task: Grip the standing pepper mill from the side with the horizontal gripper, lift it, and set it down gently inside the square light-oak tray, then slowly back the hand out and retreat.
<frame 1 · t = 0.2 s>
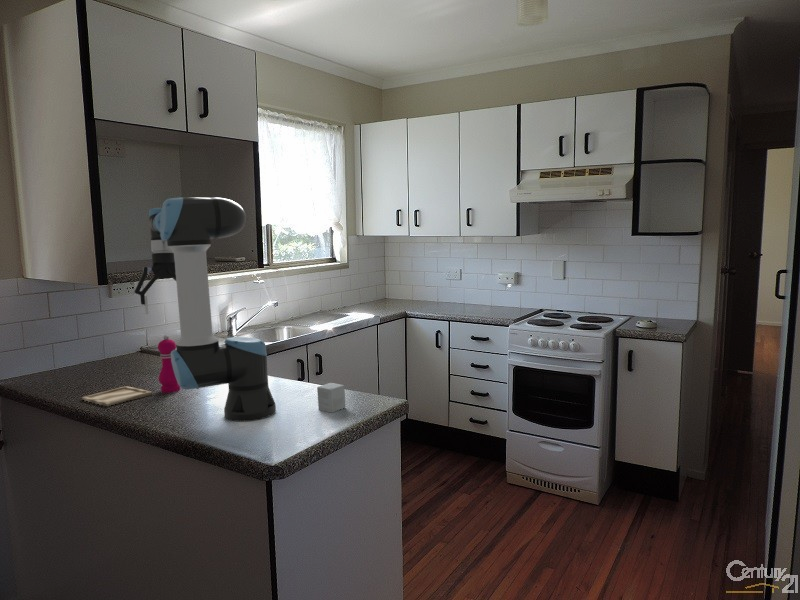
hand: (167, 312, 211), 27 cm above the counter, tool pointing down, fingers open, 13 cm apart
pepper mill: (170, 391, 211), on the counter
oak tray: (117, 397, 204), on the counter
product box: (332, 409, 182), on the counter
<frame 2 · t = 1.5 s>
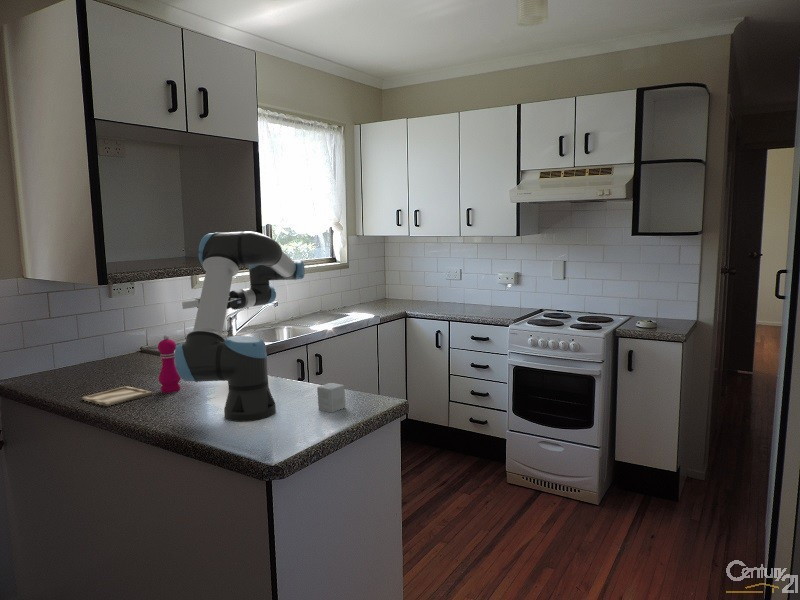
hand: (193, 306, 218), 28 cm above the counter, tool horizontal, fingers open, 13 cm apart
nothing on the counter moved.
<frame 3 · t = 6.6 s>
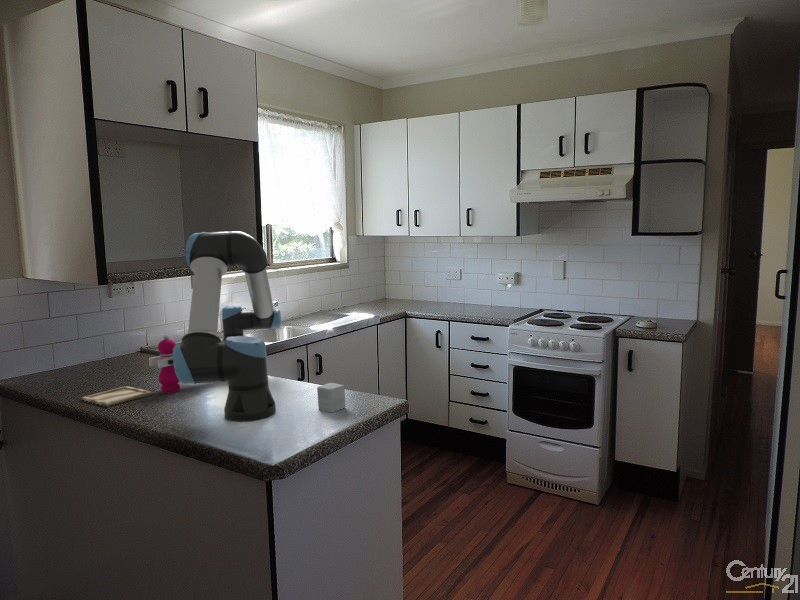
hand: (154, 363, 205), 11 cm above the counter, tool horizontal, fingers closed on pepper mill, 5 cm apart
pepper mill: (170, 391, 211), on the counter, touching gripper
everything else where it was.
when the fingers open (12 cm above the counter, at t = 14.0 s): pepper mill stays where it is, resting on oak tray.
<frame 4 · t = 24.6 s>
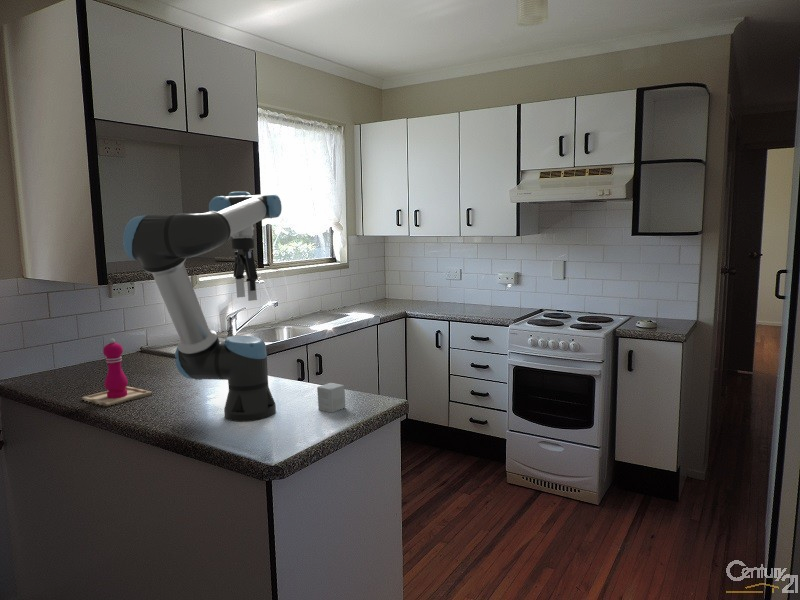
hand: (246, 298, 207), 32 cm above the counter, tool pointing down, fingers open, 13 cm apart
pepper mill: (117, 396, 204), resting on oak tray
everything else where it was.
at the end: pepper mill 0.0 cm from the oak tray (horizontally); pepper mill resting on oak tray; pepper mill tilted 0° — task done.
